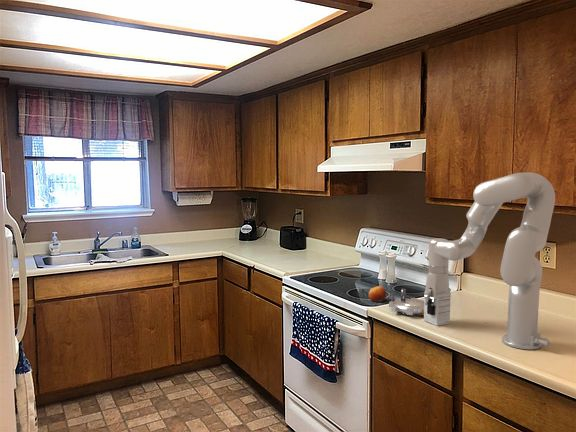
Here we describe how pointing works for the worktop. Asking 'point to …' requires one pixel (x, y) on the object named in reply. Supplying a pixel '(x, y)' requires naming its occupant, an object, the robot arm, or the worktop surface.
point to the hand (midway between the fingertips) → (437, 312)
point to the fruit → (377, 294)
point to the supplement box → (439, 310)
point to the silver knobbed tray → (407, 305)
